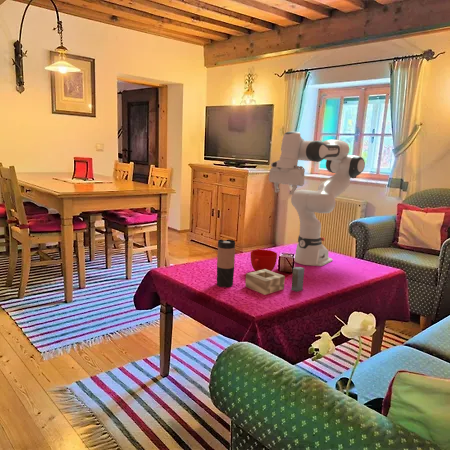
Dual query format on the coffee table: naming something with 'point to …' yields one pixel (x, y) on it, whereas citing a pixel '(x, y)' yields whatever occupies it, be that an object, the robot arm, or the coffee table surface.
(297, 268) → the grey rectangular block
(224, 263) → the travel mug
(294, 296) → the coffee table surface
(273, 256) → the ceramic cup
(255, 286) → the well block
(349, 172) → the robot arm
